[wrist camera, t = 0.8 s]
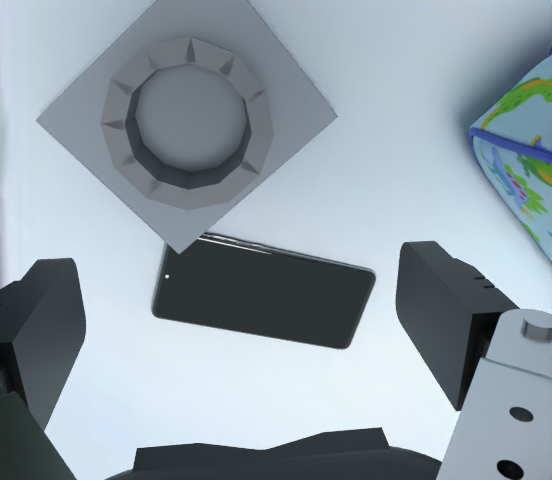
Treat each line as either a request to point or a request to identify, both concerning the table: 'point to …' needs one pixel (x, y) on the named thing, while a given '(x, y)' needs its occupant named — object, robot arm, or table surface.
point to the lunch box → (521, 150)
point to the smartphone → (262, 292)
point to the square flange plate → (188, 113)
